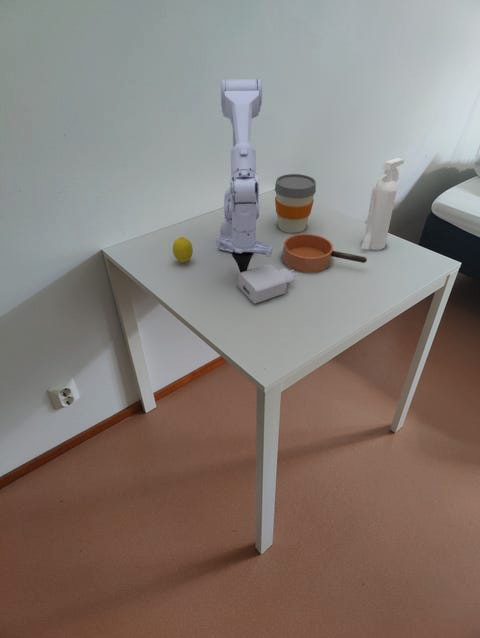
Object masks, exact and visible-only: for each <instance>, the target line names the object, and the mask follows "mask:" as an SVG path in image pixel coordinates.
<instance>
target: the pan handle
mask: <svg viewBox="0 0 480 638" xmlns="http://www.w3.org/2000/svg"><path fill="white" fill-rule="evenodd" d="M329 252H330V251H329ZM329 252H328V253H329ZM331 256H332V258H336V259H341V260H348V261H352V262H357V263H362V264H366V262H367V260H368V259H367V257H366V256H362V255H356V254H351V253H347V252H341V251H337V250H333V251H332V254H331Z"/></svg>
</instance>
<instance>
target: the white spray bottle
mask: <svg viewBox="0 0 480 638" xmlns="http://www.w3.org/2000/svg"><path fill="white" fill-rule="evenodd" d="M404 162H405V158H399V157H396V158H393V159H389V160H386V161H385V160H384V162H383V166H382V170H384V171H383V174H381V176H380V177H379V178H378V179H377V181H375V182H374V183H373V185H372V190H371V195H370V197H371V198H370V201H369V202H370V203H369V208H368V214H367V220H366V227H365V231H364V238H363V241H362V243H361V245H360V248H361V249H362V250H372V251H380V250H383V249H384V248H385V247H386V243H387V239H388V234H389V228H390V225H391V220H392V215H393V211H394V206H395V200H396V195H397V191H398V190H397V189H398V188H397V182H398V180H399V178H400V177H399V175H400V173H399V170H398V168H397V167H400V166H401V165H404Z"/></svg>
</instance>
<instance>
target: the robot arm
mask: <svg viewBox="0 0 480 638" xmlns="http://www.w3.org/2000/svg"><path fill="white" fill-rule="evenodd" d="M262 104H263V81H262V80H261V79H260V78H252V79H251V78H245V79H244V78H243V79H241V78H240V79H239V78H238V79H237V78H236V79H225V78H222V79H221V80H220V107H221V113H222V116H223V117H224V118H227V119H228V120H230V121H229V122H230V123H231V124H230V125H231V127H232V148H231V151H230V173H231V174H230V175H231V179H230V180H229V188H227V189H226V190H225V192H224V197H223V213H224V214H223V215H224V216H223V219H222V221H221V222H220V228H219V229H220V230H219V233H220V234H219V236H218V237H217V238H216V239H215V242H216V247H219V250H220V251H223V252H224V251H225V252H229V253H231V257H232V258H233V259H234V261H235V263H236V265H237V267H238V270H239V273H241V272H244V271H247V270H249V265H250V262H251V259H252V258H253V255H254V254H259V255H262V256H263V255H264V256H265V257H267V258H270V257H272V255H273V246H270V245H268V244H265V243H262V242H260V241H258V240H256V235H257V234H256V232H257V231H256V230H257V229H256V228H257V221H258V219H259V218H260V184H259V183H260V181H259V178H258V172H257V159H256V149H255V148H254V146H253V145H251V134H252V133H251V131H252V119H254V118H256V117H259V115H260V114H259V113H260V112H261V107H262Z"/></svg>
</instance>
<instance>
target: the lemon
mask: <svg viewBox="0 0 480 638" xmlns="http://www.w3.org/2000/svg"><path fill="white" fill-rule="evenodd" d="M193 251H194V249H193V245H192V242H191V241H190V239H188V238H186V237H185V236H180V237H178V238H177V239H175V240H174V242H173V243H172V254H173V256H174V258H175V259H176V260H177V261H179V262H181V263H186V262H188V261H190V260H191V258H192V256H193V254H194V253H193Z"/></svg>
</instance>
